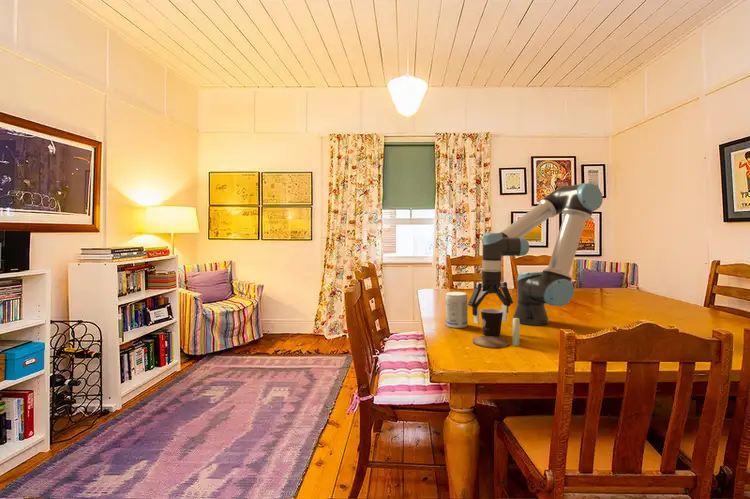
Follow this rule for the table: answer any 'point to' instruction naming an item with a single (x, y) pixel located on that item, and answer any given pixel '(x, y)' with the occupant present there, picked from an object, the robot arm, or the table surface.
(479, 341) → the walnut base
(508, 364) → the table surface
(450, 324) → the supplement tub
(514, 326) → the dowel
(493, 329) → the coffee mug
